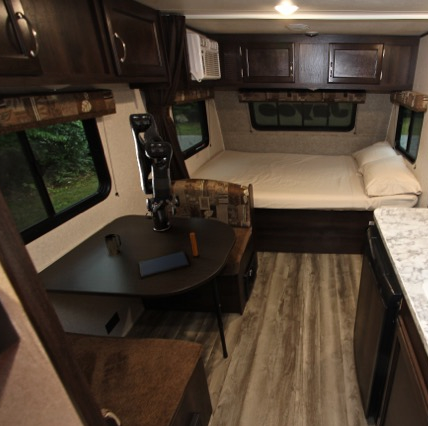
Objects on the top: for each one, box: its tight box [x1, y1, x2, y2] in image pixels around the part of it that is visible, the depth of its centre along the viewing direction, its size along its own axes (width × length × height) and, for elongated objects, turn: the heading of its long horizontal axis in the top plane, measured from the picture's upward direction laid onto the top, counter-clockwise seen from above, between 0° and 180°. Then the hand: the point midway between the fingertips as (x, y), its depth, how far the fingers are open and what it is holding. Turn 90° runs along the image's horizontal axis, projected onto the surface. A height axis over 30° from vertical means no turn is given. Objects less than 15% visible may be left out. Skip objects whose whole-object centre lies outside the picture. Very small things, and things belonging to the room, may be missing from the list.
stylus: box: [189, 232, 199, 258], centre depth 155 cm, size 2×2×14 cm
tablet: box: [138, 250, 190, 279], centre depth 150 cm, size 14×22×1 cm, turn 120°
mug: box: [104, 233, 122, 258], centre depth 156 cm, size 8×6×12 cm
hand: (164, 216), depth 140 cm, fingers open, 8 cm apart
